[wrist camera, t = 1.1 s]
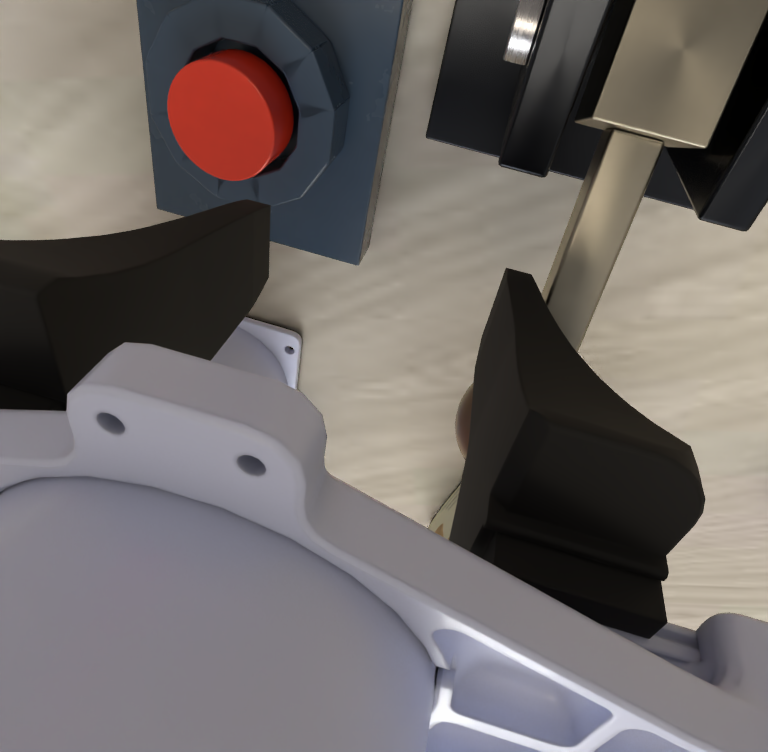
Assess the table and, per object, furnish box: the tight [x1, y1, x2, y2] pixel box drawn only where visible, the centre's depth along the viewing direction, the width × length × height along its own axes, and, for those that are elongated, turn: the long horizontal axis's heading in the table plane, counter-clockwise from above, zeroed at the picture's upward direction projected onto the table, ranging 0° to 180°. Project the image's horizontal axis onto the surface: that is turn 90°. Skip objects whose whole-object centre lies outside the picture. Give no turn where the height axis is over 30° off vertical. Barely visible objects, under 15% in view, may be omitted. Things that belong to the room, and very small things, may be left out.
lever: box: [455, 0, 768, 460], centre depth 13 cm, size 12×3×3 cm, turn 169°
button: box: [167, 49, 294, 181], centre depth 18 cm, size 4×4×2 cm
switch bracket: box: [426, 0, 768, 231], centre depth 13 cm, size 10×10×10 cm
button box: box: [137, 0, 413, 265], centre depth 20 cm, size 11×9×4 cm
